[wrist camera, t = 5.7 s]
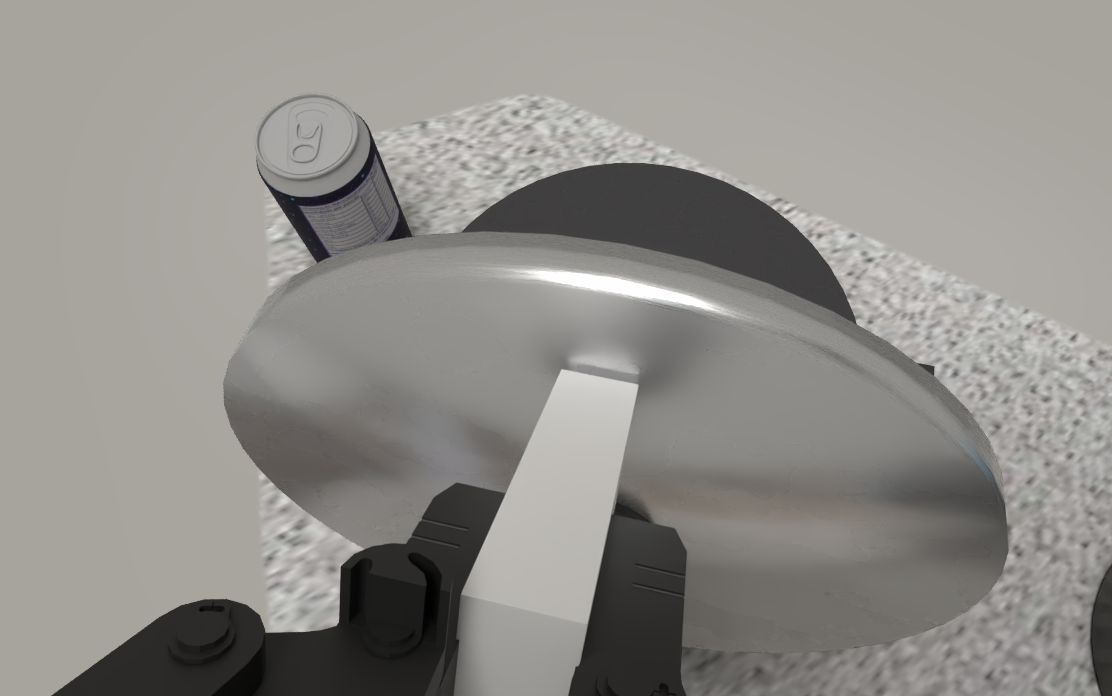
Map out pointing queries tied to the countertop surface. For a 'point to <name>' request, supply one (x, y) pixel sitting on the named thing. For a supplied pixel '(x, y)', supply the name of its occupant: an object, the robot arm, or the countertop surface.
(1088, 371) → the countertop surface
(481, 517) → the robot arm
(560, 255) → the lid
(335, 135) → the beverage can
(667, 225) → the cooker pot
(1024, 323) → the countertop surface
